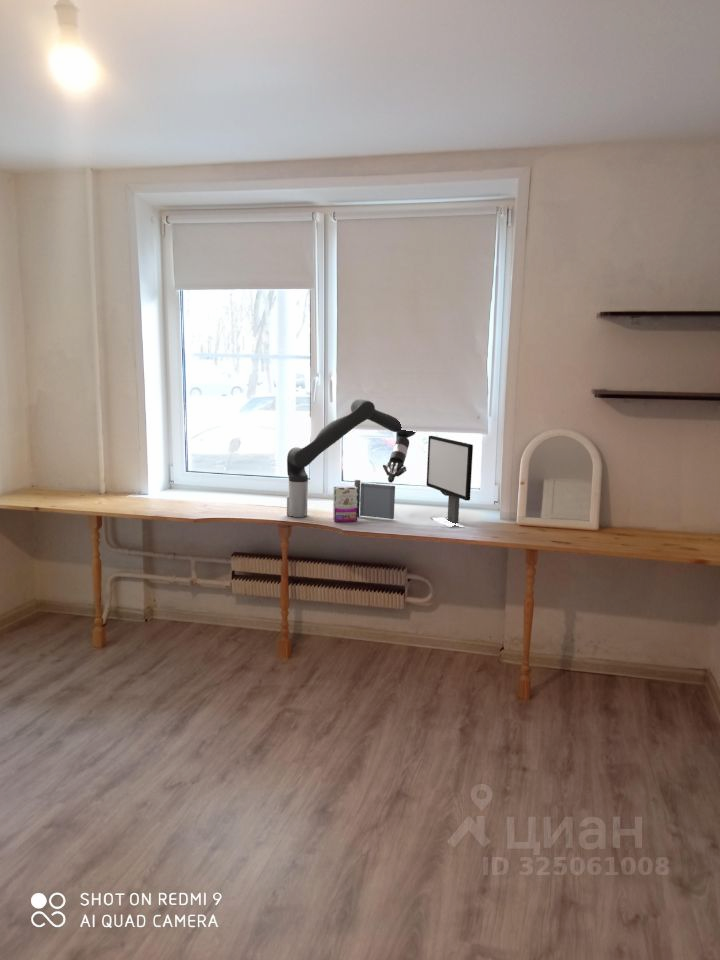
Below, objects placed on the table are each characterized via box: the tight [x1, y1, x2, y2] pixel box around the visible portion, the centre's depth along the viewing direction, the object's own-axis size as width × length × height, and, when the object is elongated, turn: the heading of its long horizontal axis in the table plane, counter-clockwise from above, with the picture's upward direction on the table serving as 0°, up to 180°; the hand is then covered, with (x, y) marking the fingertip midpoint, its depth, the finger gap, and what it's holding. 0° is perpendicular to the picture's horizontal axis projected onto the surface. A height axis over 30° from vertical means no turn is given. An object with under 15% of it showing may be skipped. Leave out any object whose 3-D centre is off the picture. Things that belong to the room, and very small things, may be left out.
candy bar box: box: [332, 486, 358, 523], centre depth 331 cm, size 11×5×16 cm, turn 101°
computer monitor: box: [426, 435, 474, 529], centre depth 331 cm, size 41×8×40 cm, turn 21°
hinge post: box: [353, 479, 361, 518], centre depth 341 cm, size 3×3×18 cm
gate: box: [359, 482, 396, 520], centre depth 337 cm, size 17×2×16 cm, turn 69°
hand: (390, 481), depth 350 cm, fingers closed
